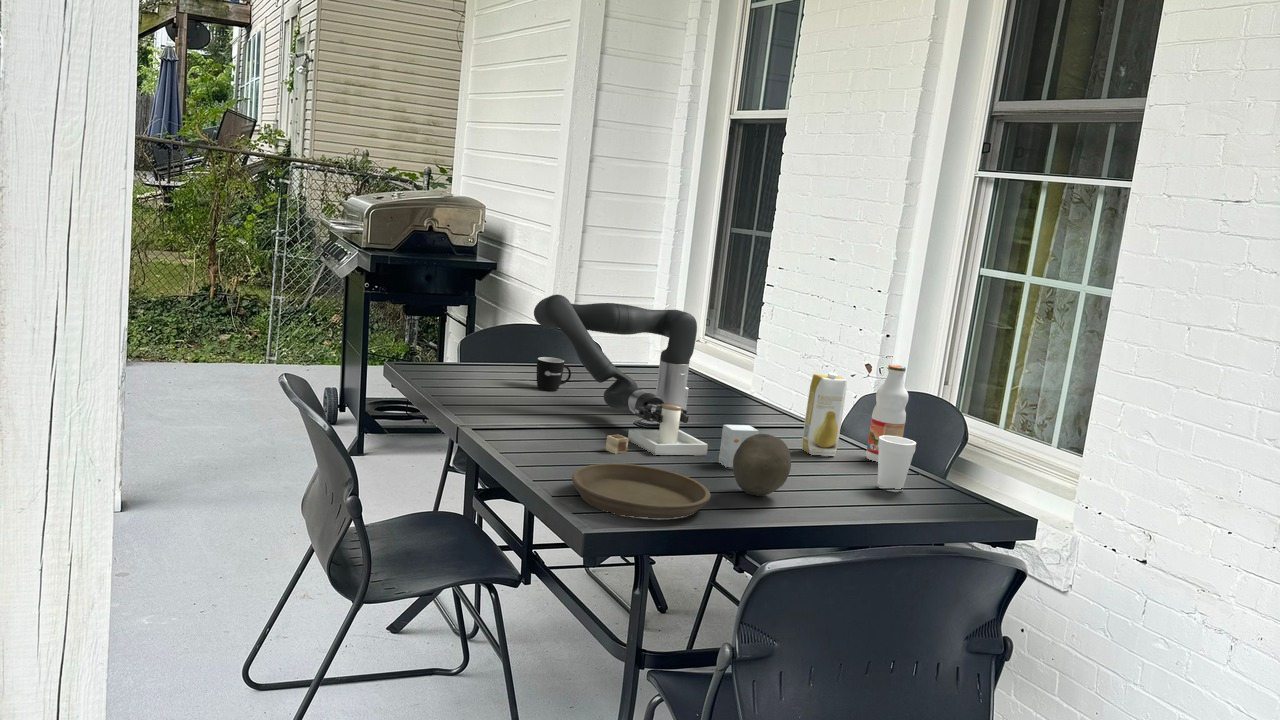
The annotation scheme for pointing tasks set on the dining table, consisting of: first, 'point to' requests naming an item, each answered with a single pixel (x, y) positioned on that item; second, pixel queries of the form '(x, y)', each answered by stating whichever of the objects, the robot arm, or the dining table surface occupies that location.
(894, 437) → the foam cup
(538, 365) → the mug
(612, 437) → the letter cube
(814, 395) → the juice carton
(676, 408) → the canister
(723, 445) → the small box
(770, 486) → the cantaloupe
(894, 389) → the fruit juice
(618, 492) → the plant saucer
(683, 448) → the tray
